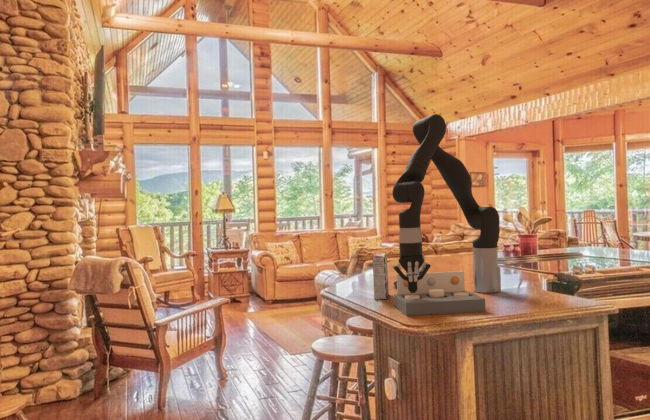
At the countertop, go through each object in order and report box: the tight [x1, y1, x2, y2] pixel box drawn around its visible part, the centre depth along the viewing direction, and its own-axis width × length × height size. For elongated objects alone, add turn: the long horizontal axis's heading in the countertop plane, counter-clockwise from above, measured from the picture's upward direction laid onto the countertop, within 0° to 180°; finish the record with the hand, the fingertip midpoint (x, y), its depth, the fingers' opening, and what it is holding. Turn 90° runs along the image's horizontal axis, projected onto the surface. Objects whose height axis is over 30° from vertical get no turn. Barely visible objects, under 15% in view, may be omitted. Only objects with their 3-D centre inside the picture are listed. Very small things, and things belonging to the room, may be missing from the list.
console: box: [393, 270, 487, 317], centre depth 160 cm, size 26×16×11 cm, turn 95°
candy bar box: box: [372, 252, 390, 301], centre depth 184 cm, size 11×5×16 cm, turn 168°
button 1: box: [405, 295, 420, 299], centre depth 161 cm, size 5×5×3 cm
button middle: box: [429, 289, 444, 298], centre depth 161 cm, size 5×5×3 cm
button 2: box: [453, 292, 469, 297], centre depth 162 cm, size 5×5×3 cm
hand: (412, 292), depth 161 cm, fingers closed
